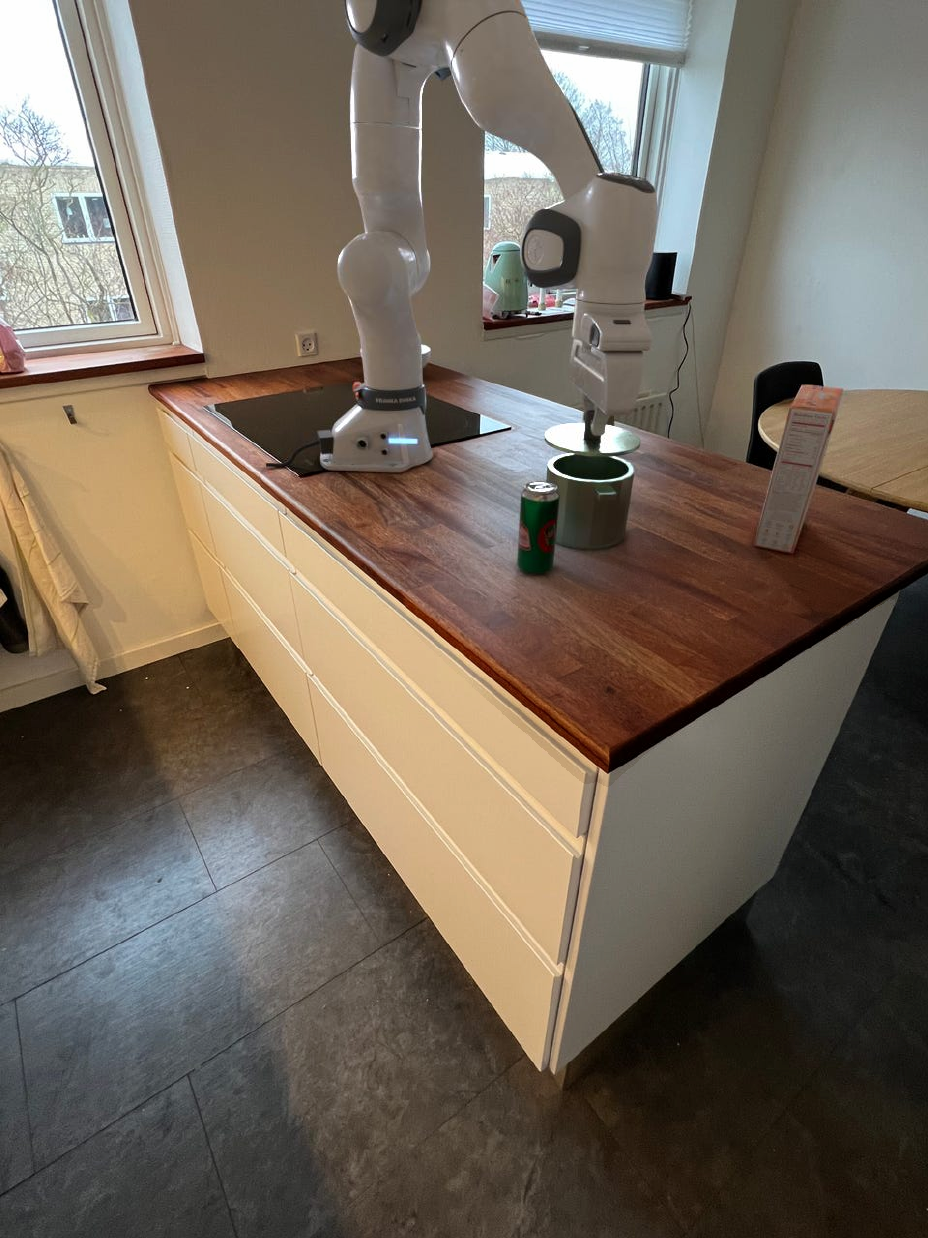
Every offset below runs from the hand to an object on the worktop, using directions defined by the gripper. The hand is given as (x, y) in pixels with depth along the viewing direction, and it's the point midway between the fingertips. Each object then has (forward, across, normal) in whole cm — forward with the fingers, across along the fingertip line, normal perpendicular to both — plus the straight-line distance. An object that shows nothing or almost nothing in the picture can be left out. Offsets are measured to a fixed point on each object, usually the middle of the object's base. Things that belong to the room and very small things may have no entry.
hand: (593, 429), depth 90 cm
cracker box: (+16, +4, +30) cm, 35 cm away
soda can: (+16, +11, -10) cm, 22 cm away
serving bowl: (+17, -114, -26) cm, 118 cm away
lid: (+2, 0, 0) cm, 2 cm away
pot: (+16, 0, 0) cm, 16 cm away
